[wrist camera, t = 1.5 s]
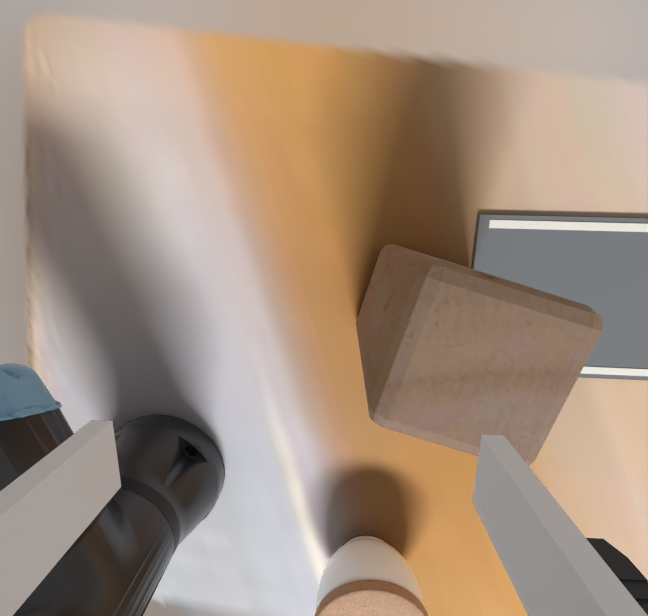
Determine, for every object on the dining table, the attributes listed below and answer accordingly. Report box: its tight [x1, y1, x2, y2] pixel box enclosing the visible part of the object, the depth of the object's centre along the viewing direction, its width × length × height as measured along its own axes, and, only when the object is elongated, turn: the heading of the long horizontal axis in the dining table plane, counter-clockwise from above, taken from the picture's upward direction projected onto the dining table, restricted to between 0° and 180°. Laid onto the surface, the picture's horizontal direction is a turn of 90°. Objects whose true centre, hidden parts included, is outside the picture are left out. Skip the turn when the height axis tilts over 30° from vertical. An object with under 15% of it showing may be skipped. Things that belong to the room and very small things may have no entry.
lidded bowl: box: [315, 536, 428, 616], centre depth 40 cm, size 13×13×11 cm
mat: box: [472, 214, 648, 380], centre depth 36 cm, size 22×17×1 cm
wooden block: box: [356, 244, 603, 466], centre depth 28 cm, size 10×10×20 cm
